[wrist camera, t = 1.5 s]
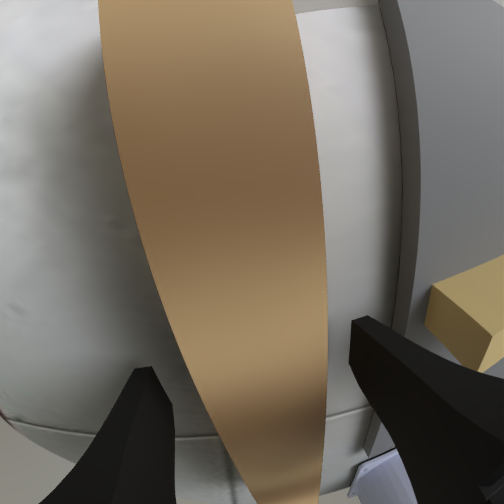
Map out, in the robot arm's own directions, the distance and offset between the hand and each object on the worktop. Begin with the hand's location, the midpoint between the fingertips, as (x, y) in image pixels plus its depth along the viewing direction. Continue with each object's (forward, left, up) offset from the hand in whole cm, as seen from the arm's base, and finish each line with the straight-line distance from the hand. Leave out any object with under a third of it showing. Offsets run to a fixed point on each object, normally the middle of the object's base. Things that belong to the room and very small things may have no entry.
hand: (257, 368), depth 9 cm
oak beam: (0, 0, -2) cm, 2 cm away
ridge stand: (0, -14, -1) cm, 14 cm away
